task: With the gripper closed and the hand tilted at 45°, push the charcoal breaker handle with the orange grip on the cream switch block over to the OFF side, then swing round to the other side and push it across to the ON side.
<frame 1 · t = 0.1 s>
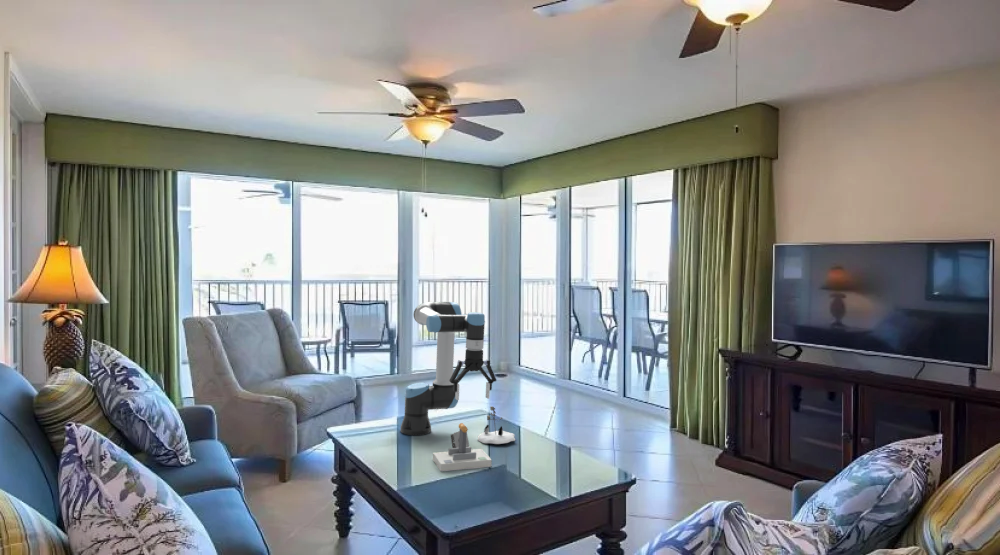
hand: (472, 398, 248), 28 cm above the table, fingers open, 13 cm apart
switch block: (461, 463, 249), on the table
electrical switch: (459, 449, 267), on the table
breaker handle: (462, 440, 248), point 10 cm above the table, hinge at 0.0°
figurine: (496, 440, 282), on the table
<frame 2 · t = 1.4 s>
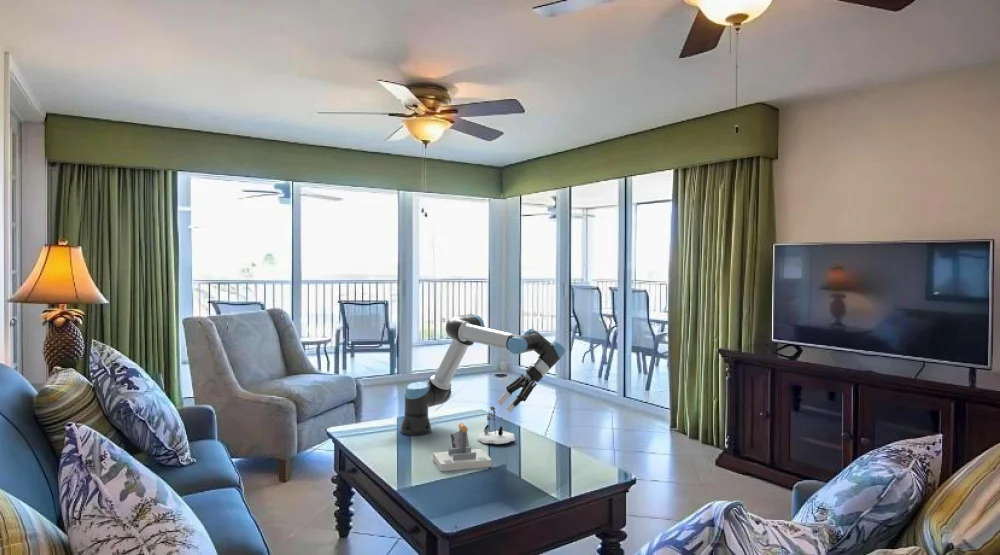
hand: (503, 406, 254), 23 cm above the table, fingers open, 11 cm apart
nothing on the table moved.
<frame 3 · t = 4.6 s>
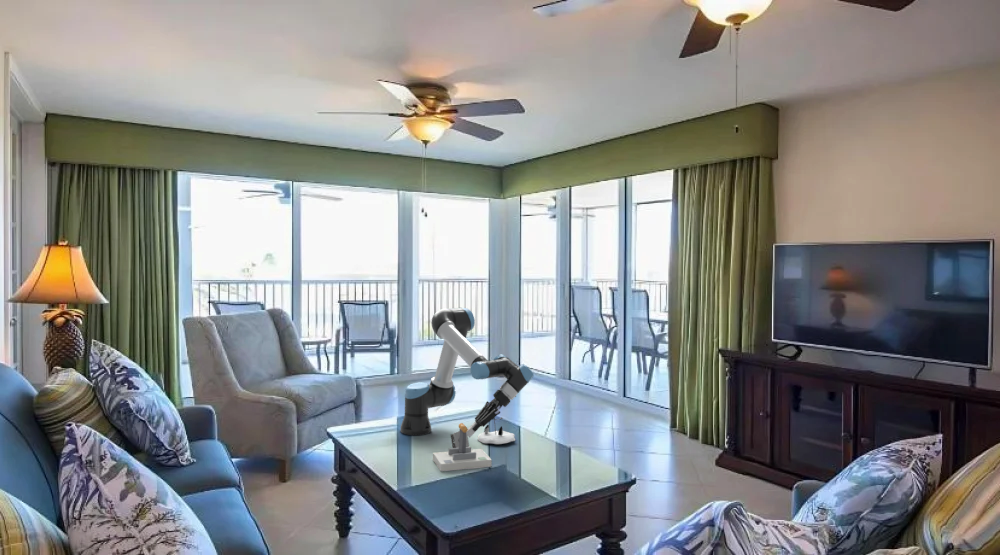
hand: (467, 435, 249), 12 cm above the table, fingers closed
breaker handle: (462, 440, 248), point 10 cm above the table, hinge at 0.0°, touching gripper
everything else where it was.
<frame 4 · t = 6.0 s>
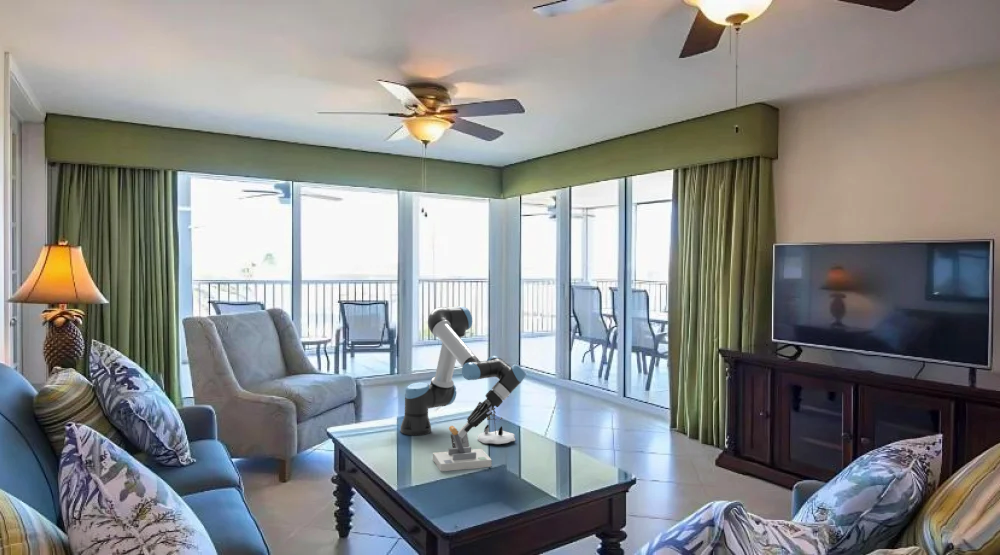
hand: (459, 436, 248), 12 cm above the table, fingers closed
breaker handle: (457, 441, 248), point 10 cm above the table, hinge at -22.8°, touching gripper
everything else where it was.
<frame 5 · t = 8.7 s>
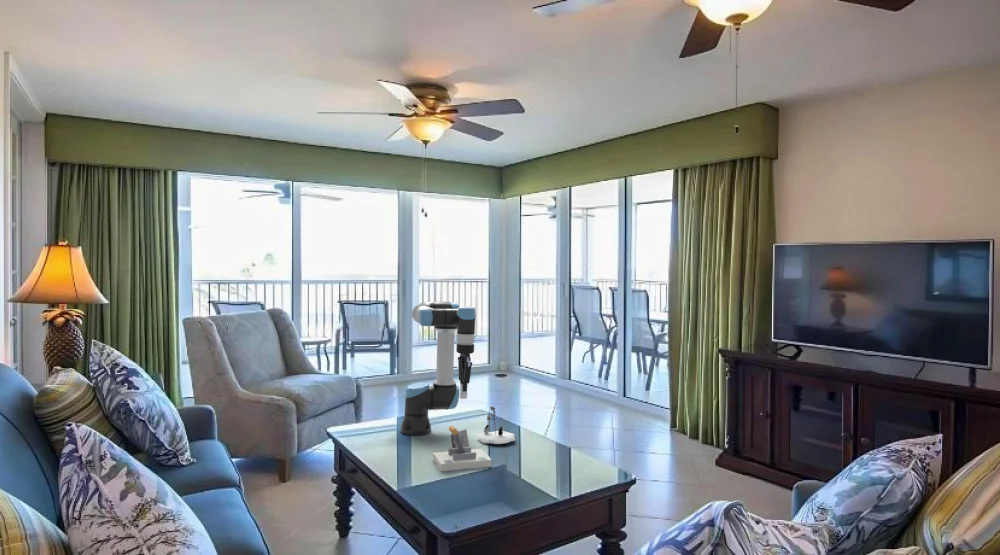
hand: (463, 398, 248), 28 cm above the table, fingers closed
breaker handle: (457, 441, 248), point 10 cm above the table, hinge at -23.0°
everything else where it was.
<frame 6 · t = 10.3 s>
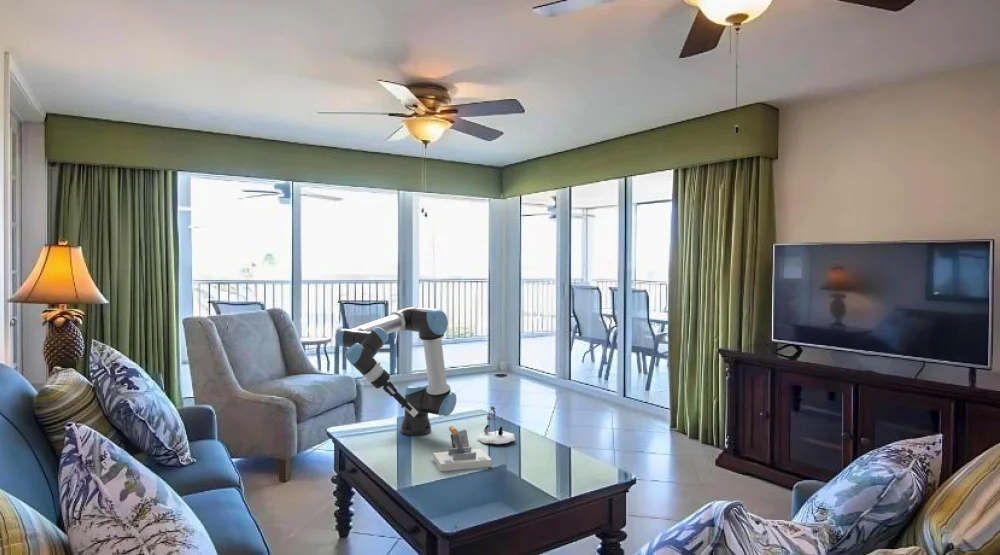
hand: (415, 414, 241), 22 cm above the table, fingers closed
nothing on the table moved.
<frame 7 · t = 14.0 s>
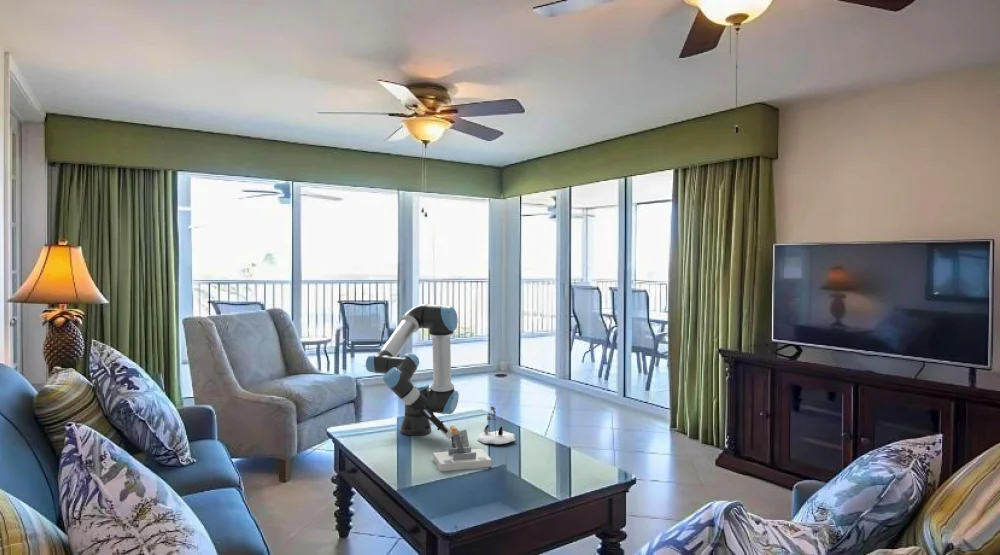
hand: (451, 436, 246), 12 cm above the table, fingers closed
breaker handle: (458, 441, 248), point 10 cm above the table, hinge at -21.3°, touching gripper
everything else where it was.
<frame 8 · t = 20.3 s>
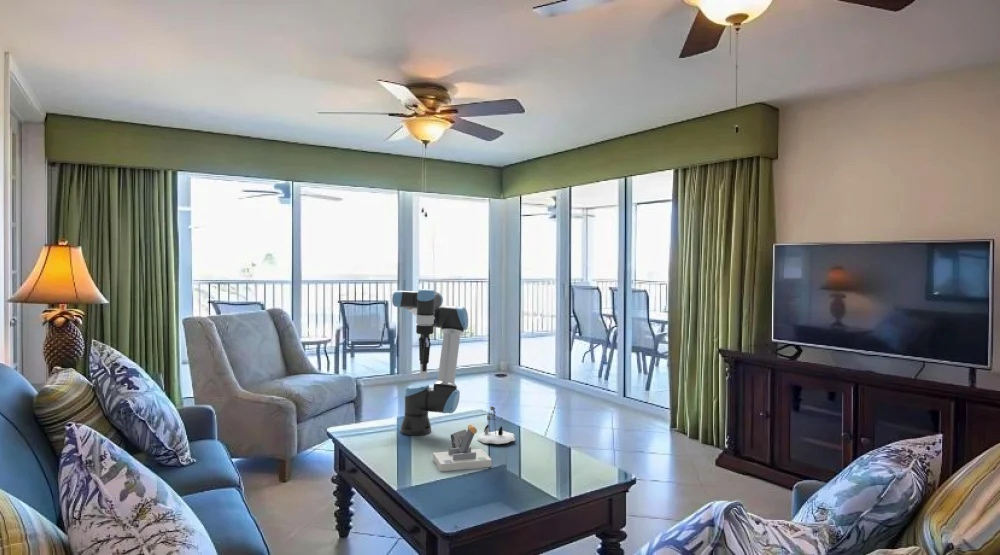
hand: (423, 378, 255), 34 cm above the table, fingers closed
breaker handle: (467, 440, 249), point 10 cm above the table, hinge at 22.6°
everything else where it was.
at the end: breaker handle at +23° (first picture: +0°); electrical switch moved 0.3 cm from its start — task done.
